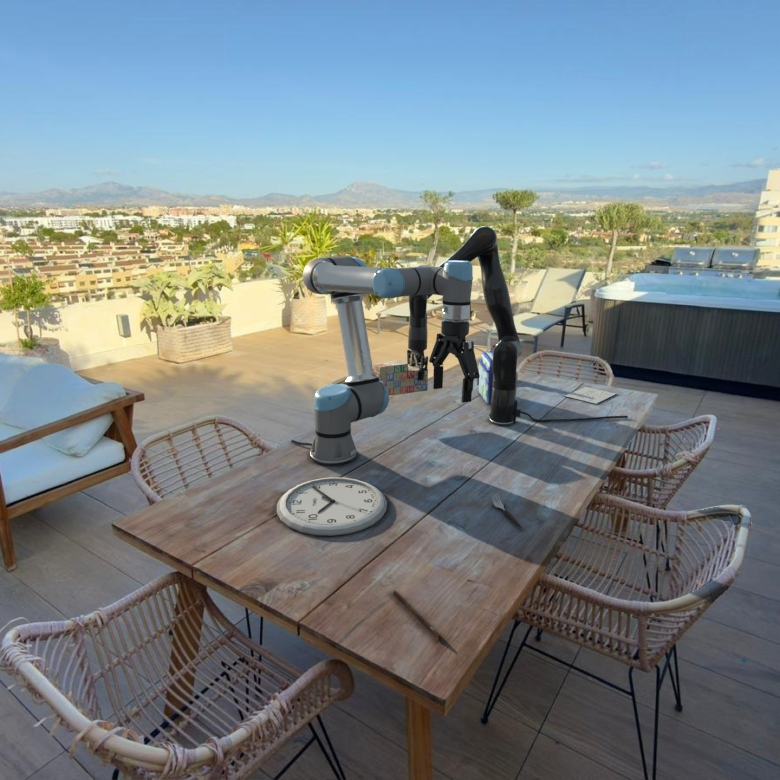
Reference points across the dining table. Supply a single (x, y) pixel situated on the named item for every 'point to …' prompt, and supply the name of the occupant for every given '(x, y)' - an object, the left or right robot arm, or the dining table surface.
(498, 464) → the dining table surface
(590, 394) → the invitation card
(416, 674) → the dining table surface
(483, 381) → the lunch box
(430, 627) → the dark brown stick
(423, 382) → the stack of blocks
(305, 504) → the wall clock
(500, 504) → the fork
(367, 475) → the dining table surface
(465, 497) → the dining table surface
